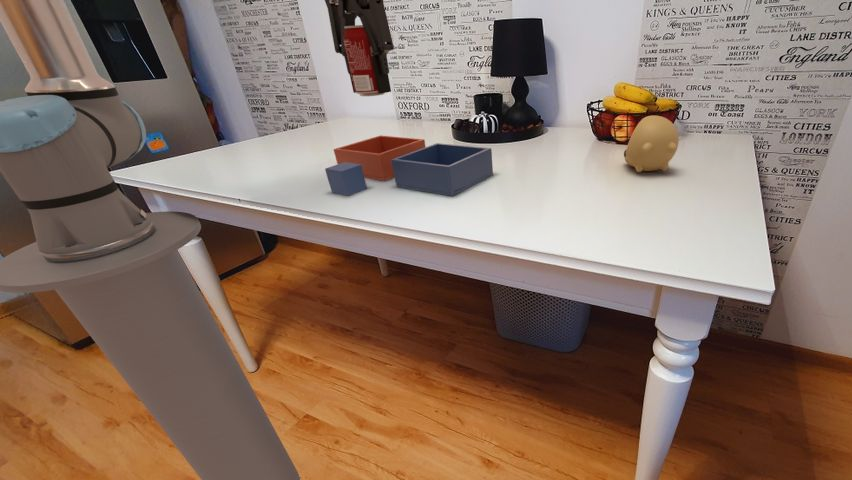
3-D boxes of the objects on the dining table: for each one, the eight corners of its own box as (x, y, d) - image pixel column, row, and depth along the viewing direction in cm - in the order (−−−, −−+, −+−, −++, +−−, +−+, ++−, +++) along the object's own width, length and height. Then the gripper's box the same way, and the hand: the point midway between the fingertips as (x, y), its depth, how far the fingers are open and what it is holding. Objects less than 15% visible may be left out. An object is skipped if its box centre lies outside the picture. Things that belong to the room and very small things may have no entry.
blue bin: (396, 186, 82) (391, 159, 79) (440, 167, 93) (437, 142, 90) (452, 196, 76) (448, 167, 73) (493, 174, 86) (491, 148, 83)
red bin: (339, 173, 93) (333, 149, 90) (384, 157, 104) (380, 135, 101) (384, 180, 86) (379, 154, 83) (428, 163, 97) (424, 139, 94)
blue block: (331, 192, 81) (324, 168, 79) (350, 185, 85) (344, 161, 82) (348, 196, 79) (341, 171, 76) (367, 188, 83) (361, 164, 80)
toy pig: (665, 184, 85) (658, 141, 88) (691, 151, 74) (682, 103, 77) (619, 185, 85) (614, 142, 88) (638, 152, 74) (631, 104, 77)
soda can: (372, 97, 78) (357, 24, 72) (348, 96, 81) (332, 27, 75) (396, 92, 83) (384, 24, 77) (373, 92, 86) (359, 26, 80)
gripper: (398, -58, 68) (420, 90, 80) (325, -42, 77) (354, 89, 89) (364, -65, 63) (393, 95, 75) (290, -46, 72) (326, 93, 84)
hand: (372, 92), depth 82 cm, fingers closed on soda can, 7 cm apart
